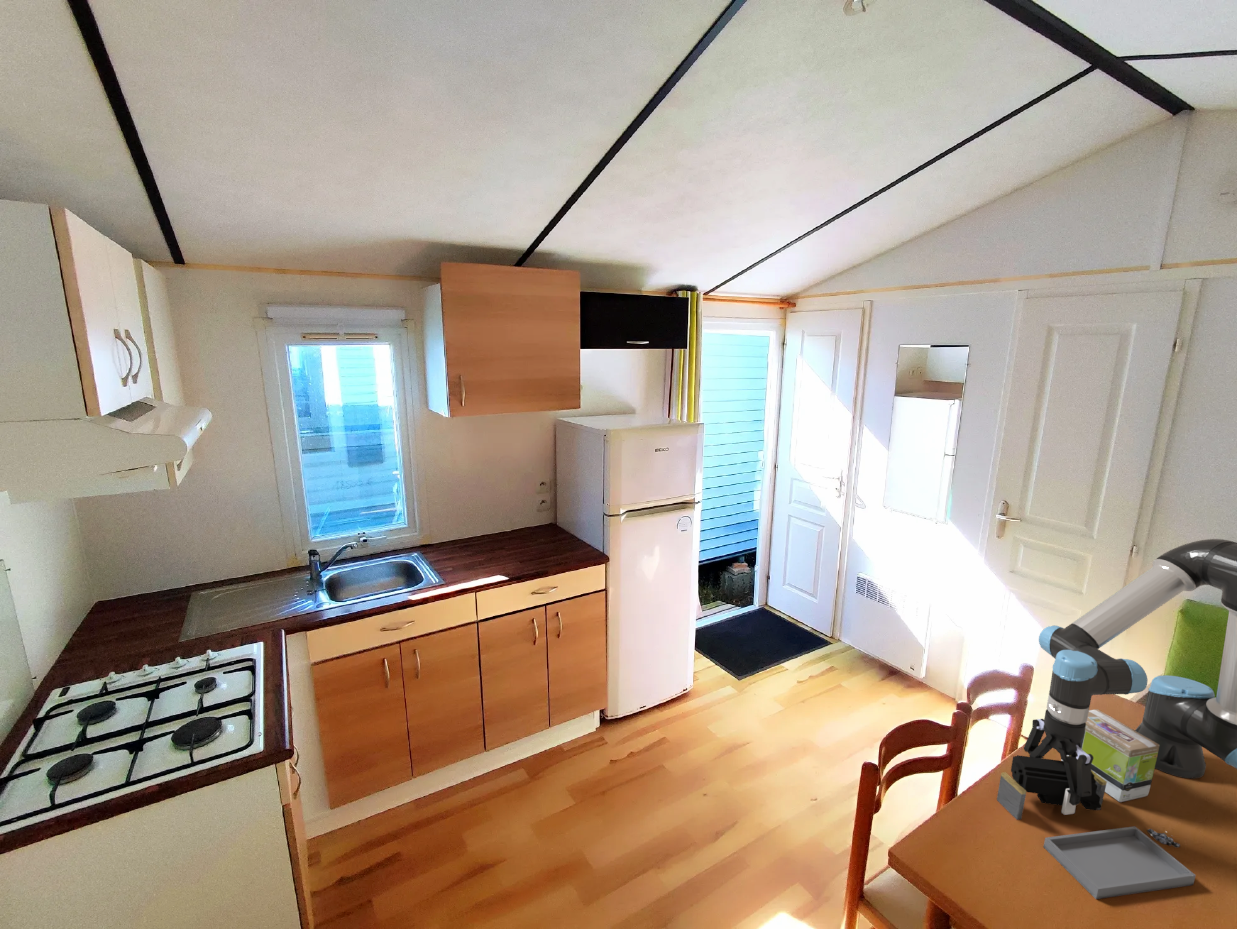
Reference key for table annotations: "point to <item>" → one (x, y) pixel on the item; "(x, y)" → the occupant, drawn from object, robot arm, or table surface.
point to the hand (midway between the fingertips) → (1050, 797)
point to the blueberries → (1163, 838)
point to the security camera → (1048, 780)
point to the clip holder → (1015, 794)
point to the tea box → (1119, 756)
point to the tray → (1118, 862)
